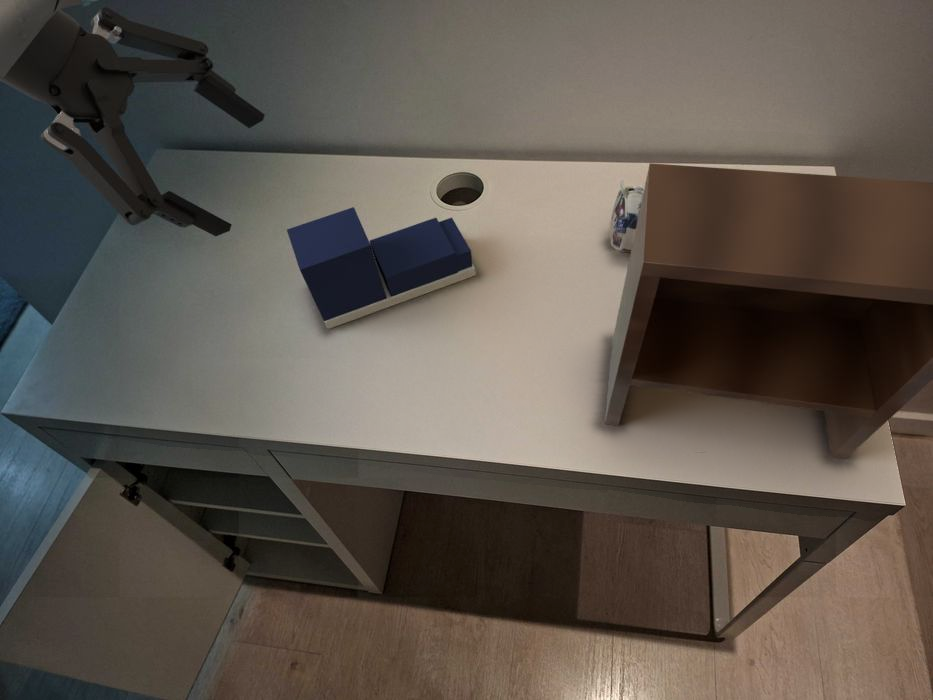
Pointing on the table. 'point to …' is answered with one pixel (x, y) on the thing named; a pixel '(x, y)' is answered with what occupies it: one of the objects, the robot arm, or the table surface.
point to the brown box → (780, 294)
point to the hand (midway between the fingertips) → (241, 174)
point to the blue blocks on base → (375, 263)
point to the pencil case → (625, 217)
